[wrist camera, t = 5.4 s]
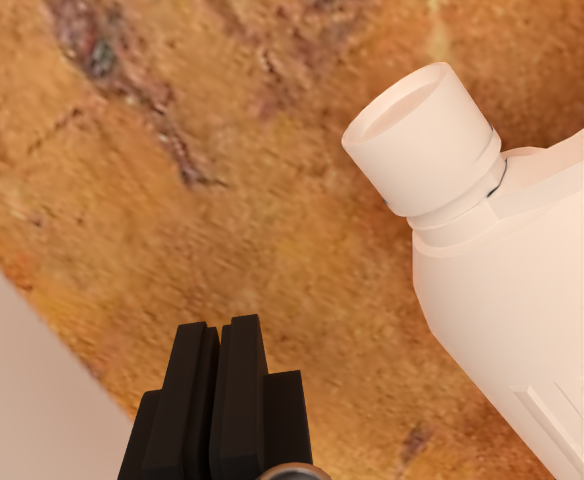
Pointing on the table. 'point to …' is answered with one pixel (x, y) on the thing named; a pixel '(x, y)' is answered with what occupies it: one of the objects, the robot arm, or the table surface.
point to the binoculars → (489, 251)
